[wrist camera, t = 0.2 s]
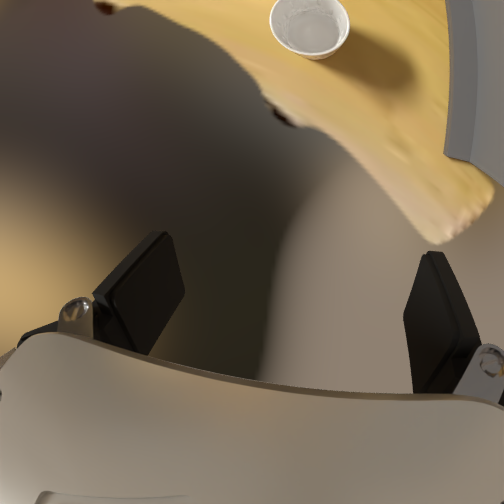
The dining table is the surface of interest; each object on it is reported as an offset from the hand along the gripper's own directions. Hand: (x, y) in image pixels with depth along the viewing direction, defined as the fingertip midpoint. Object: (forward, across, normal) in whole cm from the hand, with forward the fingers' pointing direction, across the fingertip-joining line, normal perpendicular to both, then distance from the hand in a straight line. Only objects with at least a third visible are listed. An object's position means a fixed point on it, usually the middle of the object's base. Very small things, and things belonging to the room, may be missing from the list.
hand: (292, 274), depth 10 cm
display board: (+31, -24, -15) cm, 42 cm away
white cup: (+32, 0, -14) cm, 34 cm away
